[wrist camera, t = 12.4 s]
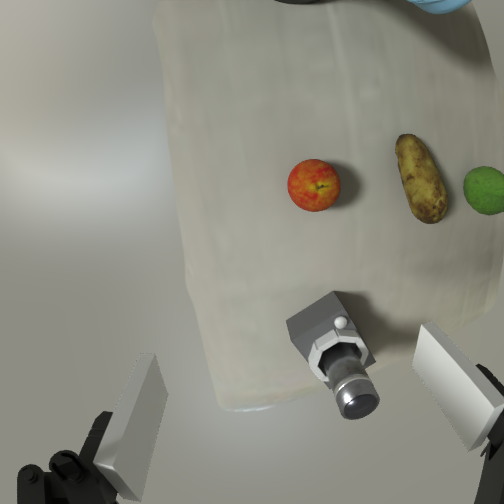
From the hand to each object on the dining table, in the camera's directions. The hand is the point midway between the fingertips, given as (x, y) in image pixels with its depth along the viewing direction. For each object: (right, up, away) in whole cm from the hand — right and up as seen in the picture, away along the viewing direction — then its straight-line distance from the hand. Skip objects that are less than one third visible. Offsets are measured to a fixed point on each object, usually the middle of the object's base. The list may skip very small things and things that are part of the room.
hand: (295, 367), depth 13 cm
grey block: (+11, -8, +36) cm, 39 cm away
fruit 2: (+36, +17, +29) cm, 50 cm away
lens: (+11, -10, +30) cm, 34 cm away
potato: (+23, +17, +29) cm, 41 cm away
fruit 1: (+6, +15, +29) cm, 33 cm away
